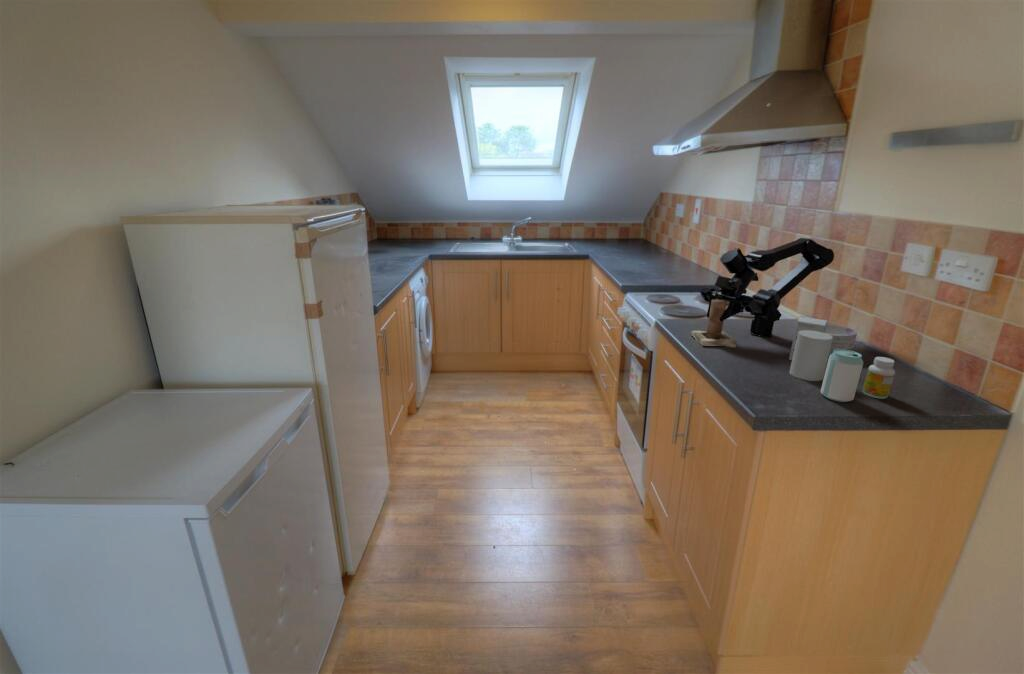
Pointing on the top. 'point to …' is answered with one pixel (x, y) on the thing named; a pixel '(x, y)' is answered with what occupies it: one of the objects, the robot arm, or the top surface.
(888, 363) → the supplement bottle
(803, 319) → the supplement box
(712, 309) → the cherry wood peg
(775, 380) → the top surface
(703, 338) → the birch hole board
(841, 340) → the paper bowls
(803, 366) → the cup
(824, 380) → the can
